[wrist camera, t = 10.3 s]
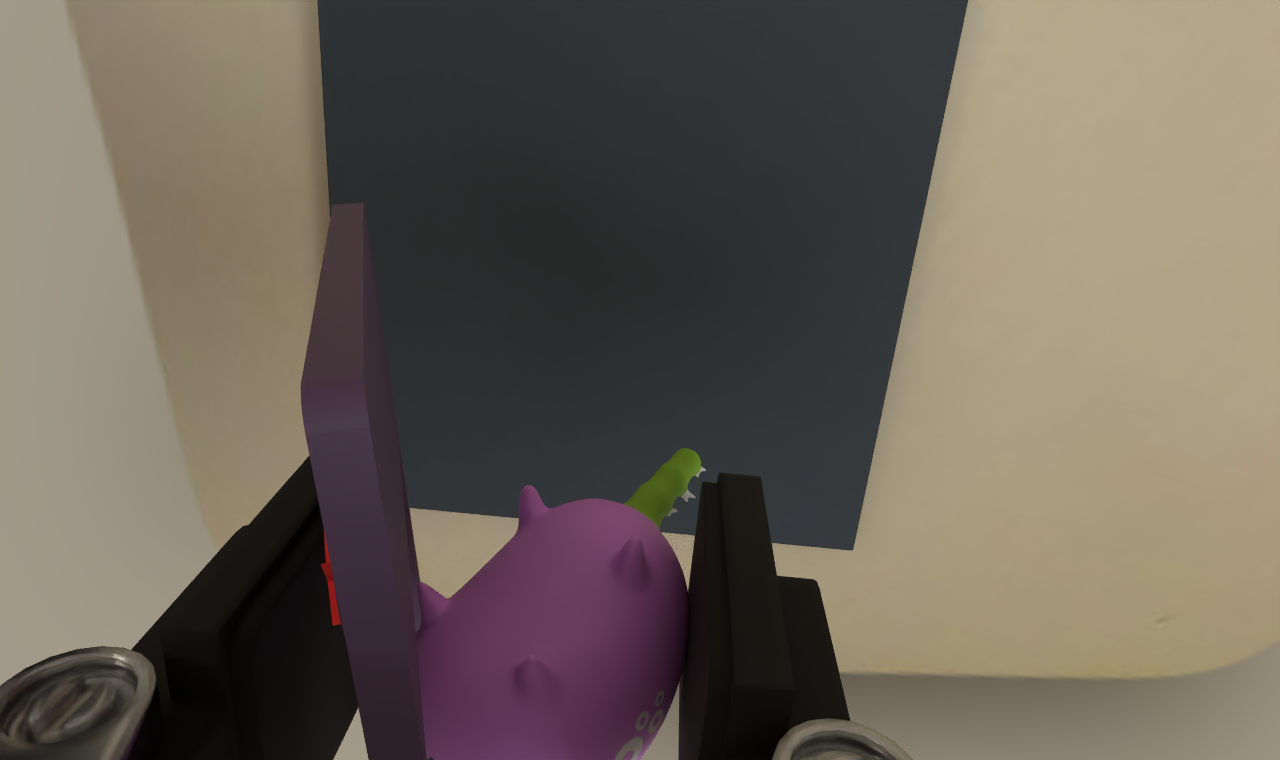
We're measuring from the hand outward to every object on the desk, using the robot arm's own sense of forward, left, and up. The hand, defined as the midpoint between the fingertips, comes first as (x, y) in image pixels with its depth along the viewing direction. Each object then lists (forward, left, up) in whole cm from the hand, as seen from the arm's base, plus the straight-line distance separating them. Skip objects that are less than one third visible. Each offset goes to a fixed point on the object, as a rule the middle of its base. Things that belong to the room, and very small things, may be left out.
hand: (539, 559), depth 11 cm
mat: (0, 0, -14) cm, 14 cm away
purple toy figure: (0, 0, -2) cm, 2 cm away
